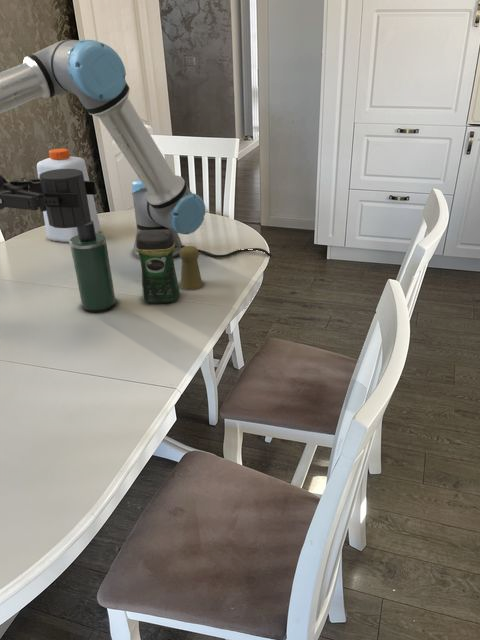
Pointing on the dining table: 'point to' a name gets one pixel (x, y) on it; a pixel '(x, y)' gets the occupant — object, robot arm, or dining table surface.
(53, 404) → the dining table surface
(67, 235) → the plastic bottle
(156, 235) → the coffee jar
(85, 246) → the flask
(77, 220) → the grey lidded canister
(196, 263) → the olive pawn figure
